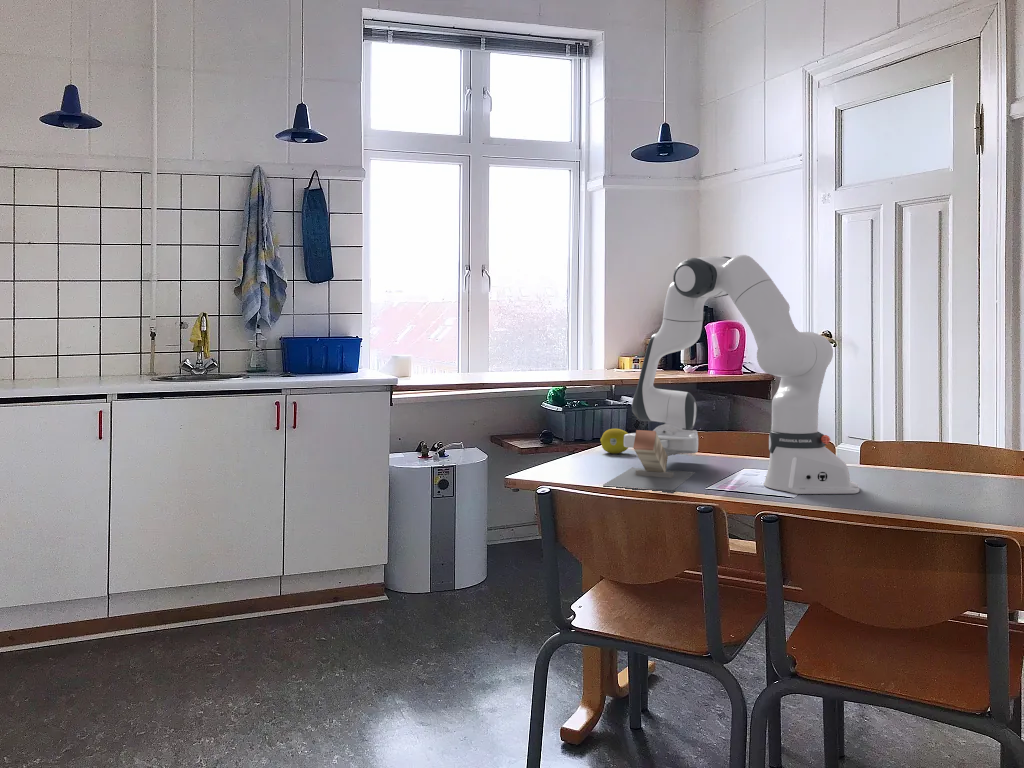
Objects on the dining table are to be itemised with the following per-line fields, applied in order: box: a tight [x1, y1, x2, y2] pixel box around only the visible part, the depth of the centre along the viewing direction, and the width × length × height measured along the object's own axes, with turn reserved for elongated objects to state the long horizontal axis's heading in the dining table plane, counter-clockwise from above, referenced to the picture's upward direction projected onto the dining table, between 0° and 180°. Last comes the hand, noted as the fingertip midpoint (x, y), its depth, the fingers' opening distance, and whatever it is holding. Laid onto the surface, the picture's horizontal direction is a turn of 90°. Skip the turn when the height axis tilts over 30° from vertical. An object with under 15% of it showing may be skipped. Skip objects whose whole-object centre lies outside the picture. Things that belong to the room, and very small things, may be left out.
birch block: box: [632, 429, 669, 472], centre depth 217 cm, size 5×5×16 cm
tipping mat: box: [602, 467, 697, 494], centre depth 218 cm, size 26×18×2 cm
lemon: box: [599, 428, 629, 455], centre depth 263 cm, size 11×8×8 cm
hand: (654, 444), depth 221 cm, fingers closed, pressing on birch block
